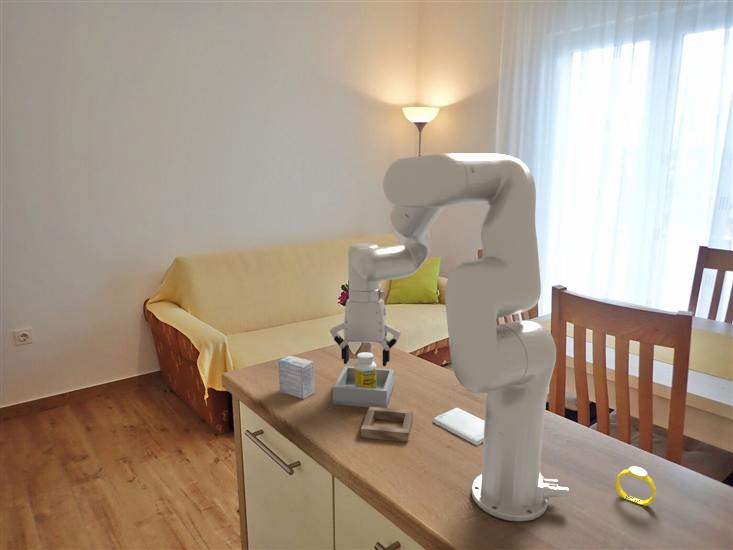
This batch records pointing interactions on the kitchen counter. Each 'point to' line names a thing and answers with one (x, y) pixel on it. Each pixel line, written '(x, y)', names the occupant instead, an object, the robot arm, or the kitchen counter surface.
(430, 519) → the kitchen counter surface
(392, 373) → the slate tray
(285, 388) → the medicine box
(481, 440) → the hard drive
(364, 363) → the supplement bottle
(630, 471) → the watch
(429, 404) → the kitchen counter surface
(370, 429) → the walnut square tray
